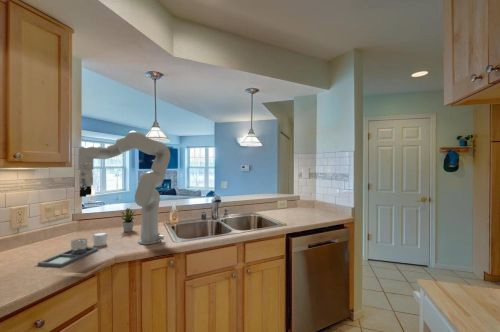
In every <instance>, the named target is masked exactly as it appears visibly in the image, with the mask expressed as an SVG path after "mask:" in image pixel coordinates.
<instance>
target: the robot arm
mask: <svg viewBox="0 0 500 332" xmlns="http://www.w3.org/2000/svg"><path fill="white" fill-rule="evenodd" d="M135 149H136V150H139V151H140V152H143V153H144V154H147V155H150V156H151V155H152V156H155V158H154V160H153V162H152V164H151V168H150V171H146V172H144V173H143V174H142V175H141V176H140V179H139V181H138V185H137V188H136V191H135V194H134V202H135V204H136V205H137V206H139V207H141V211H140V212H141V214H140V216H141V217H140V238H139V239H138V240H137V243H138V244H140V245H154V244H158V243H159V242H161V240H162V241H163V240H164V238H165V236H164V235H163V234H162V235H160V234H161V233H160V232H159V208H160V200H161V199H160V198H161V196H160V192H159V191H158V190H157V189H156V188H157V187H160V186H162V184H163V182H164V179H165V176H166V172H167V170H168V167H169V166H168V165H169V163H170V160H171V151H170V149H169V147H168V146H167V145H166V143H163V142H162V141H159V140H156V139H155V140H154V139H152V138H149V137H147V136H146V135H145V134H144V133H142V132H139V131H135V130H131V131H129V132H127V133H126V135H125V136H123V137H120V138H117V139H116V141H115V143H114V144H112V145H111V144H110V145H108V146H97V145H94V146H79V148H78V167H77V168H78V169H77V170H79V177H78V179H79V180H78V181H79V183H78V185H79V197H80V198H83V197H84V198H85V197H87V196H91V195H92V186H93V185H94V174H93V173H94V172H93V170H94V159H95V160H108V159H112V158H115V157H117V156H120V155H122V154H123V153H127V152H129V151H132V150H135Z"/></svg>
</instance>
